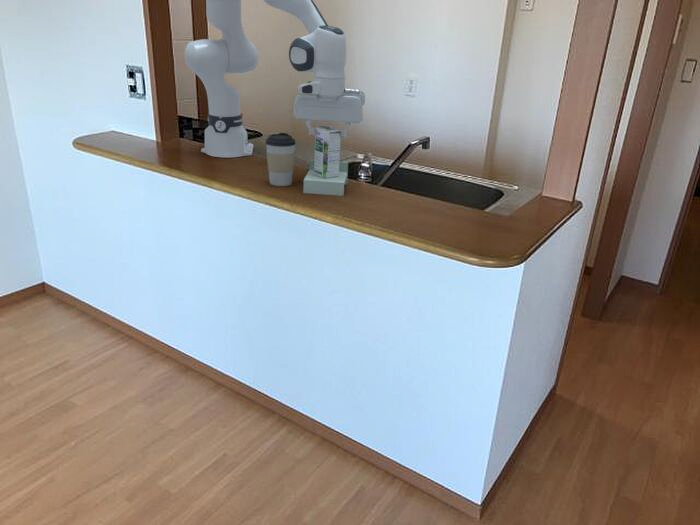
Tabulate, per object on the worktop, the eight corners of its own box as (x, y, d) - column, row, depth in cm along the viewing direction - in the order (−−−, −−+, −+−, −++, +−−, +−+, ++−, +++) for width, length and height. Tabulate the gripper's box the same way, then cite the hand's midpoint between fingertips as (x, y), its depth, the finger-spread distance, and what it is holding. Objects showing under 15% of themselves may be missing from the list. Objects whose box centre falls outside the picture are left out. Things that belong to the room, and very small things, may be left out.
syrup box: (313, 174, 169) (314, 126, 163) (328, 171, 173) (330, 125, 167) (324, 178, 166) (325, 130, 159) (339, 176, 169) (341, 128, 163)
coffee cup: (290, 188, 169) (290, 139, 162) (262, 185, 170) (261, 136, 164) (298, 180, 177) (299, 133, 170) (271, 177, 178) (271, 130, 172)
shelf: (309, 180, 177) (310, 159, 174) (347, 183, 176) (348, 162, 173) (303, 192, 165) (303, 170, 162) (343, 195, 165) (344, 173, 162)
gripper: (366, 88, 161) (363, 136, 166) (296, 84, 162) (295, 131, 167) (364, 91, 155) (361, 140, 161) (292, 86, 156) (292, 135, 162)
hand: (327, 136), depth 164 cm, fingers open, 8 cm apart
